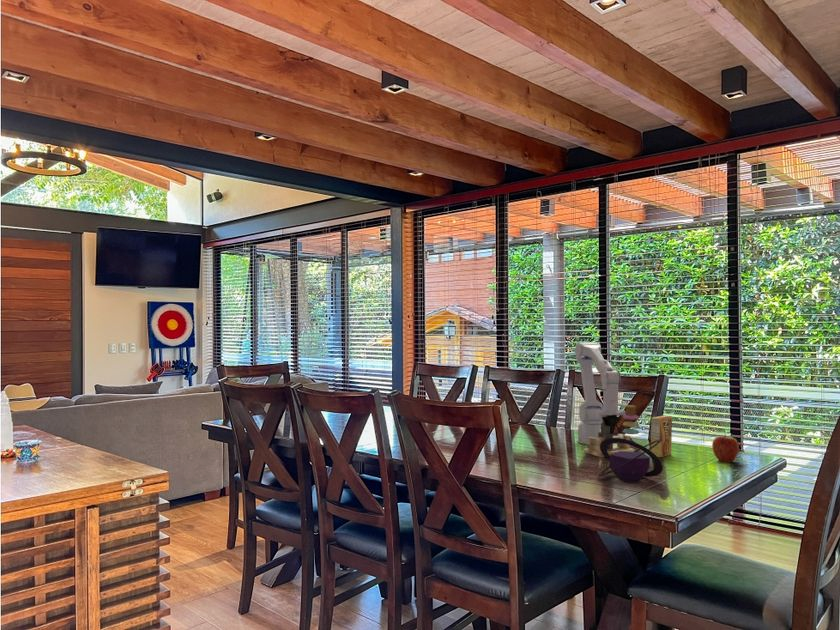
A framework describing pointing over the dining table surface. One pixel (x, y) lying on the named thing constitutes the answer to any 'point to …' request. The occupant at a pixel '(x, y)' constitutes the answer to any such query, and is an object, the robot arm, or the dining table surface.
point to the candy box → (661, 435)
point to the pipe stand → (595, 449)
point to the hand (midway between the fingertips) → (610, 434)
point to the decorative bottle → (630, 455)
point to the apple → (725, 448)
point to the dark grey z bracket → (606, 434)
